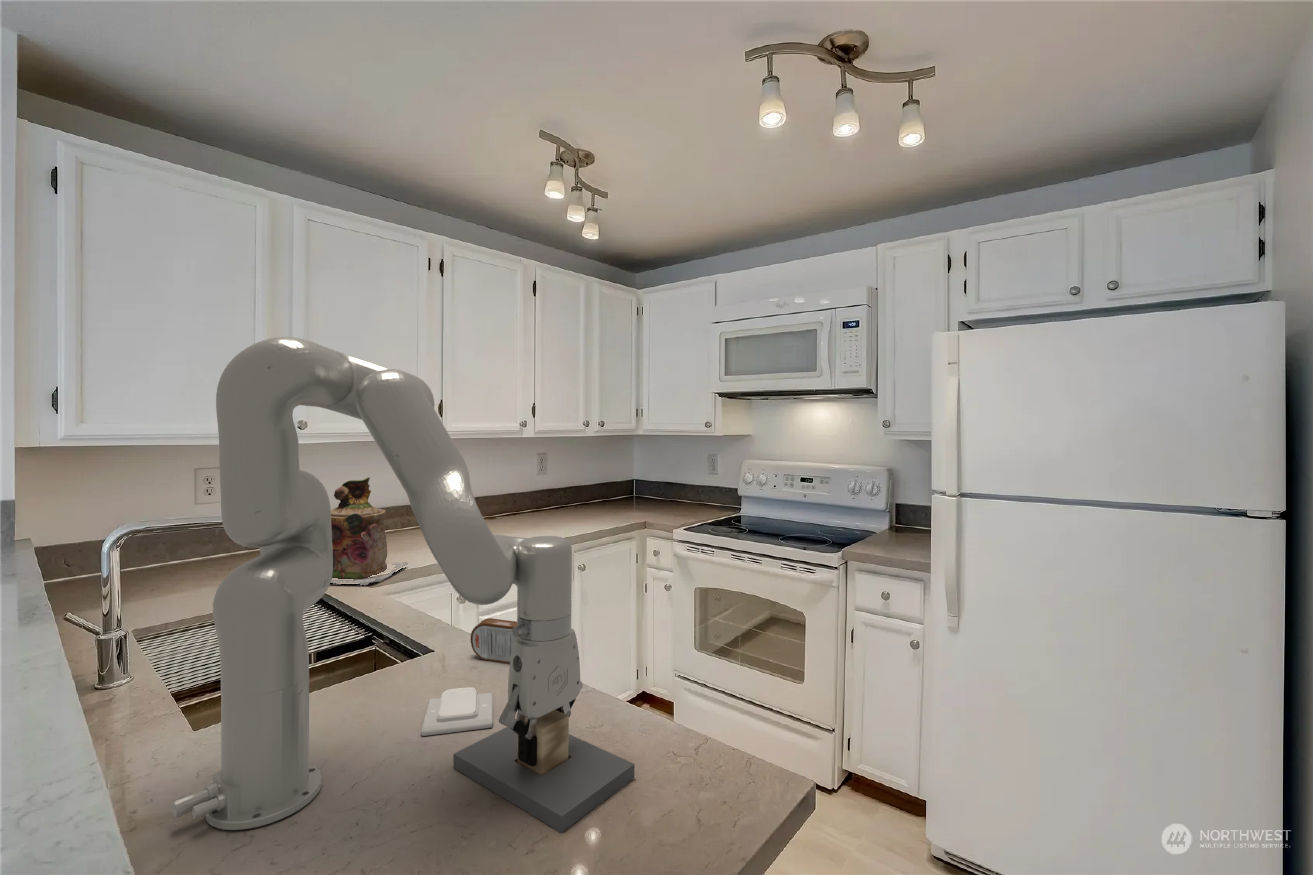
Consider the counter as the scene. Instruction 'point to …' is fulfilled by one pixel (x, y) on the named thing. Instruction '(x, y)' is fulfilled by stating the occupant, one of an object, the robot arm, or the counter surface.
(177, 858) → the counter surface
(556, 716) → the beige rectangular block
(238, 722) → the robot arm
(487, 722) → the light switch
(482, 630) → the tin
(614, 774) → the grey plate with hole
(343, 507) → the cookie jar
